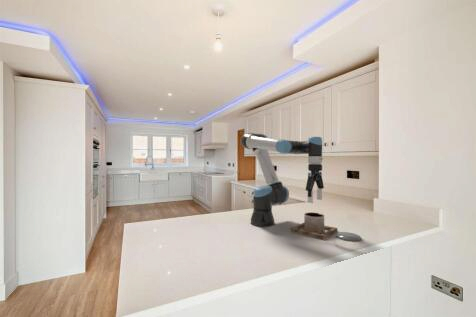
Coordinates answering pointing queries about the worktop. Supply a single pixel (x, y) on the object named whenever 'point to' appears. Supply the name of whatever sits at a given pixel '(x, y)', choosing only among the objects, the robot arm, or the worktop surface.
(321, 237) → the holder frame
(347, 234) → the slate trivet
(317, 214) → the planter
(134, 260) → the worktop surface
